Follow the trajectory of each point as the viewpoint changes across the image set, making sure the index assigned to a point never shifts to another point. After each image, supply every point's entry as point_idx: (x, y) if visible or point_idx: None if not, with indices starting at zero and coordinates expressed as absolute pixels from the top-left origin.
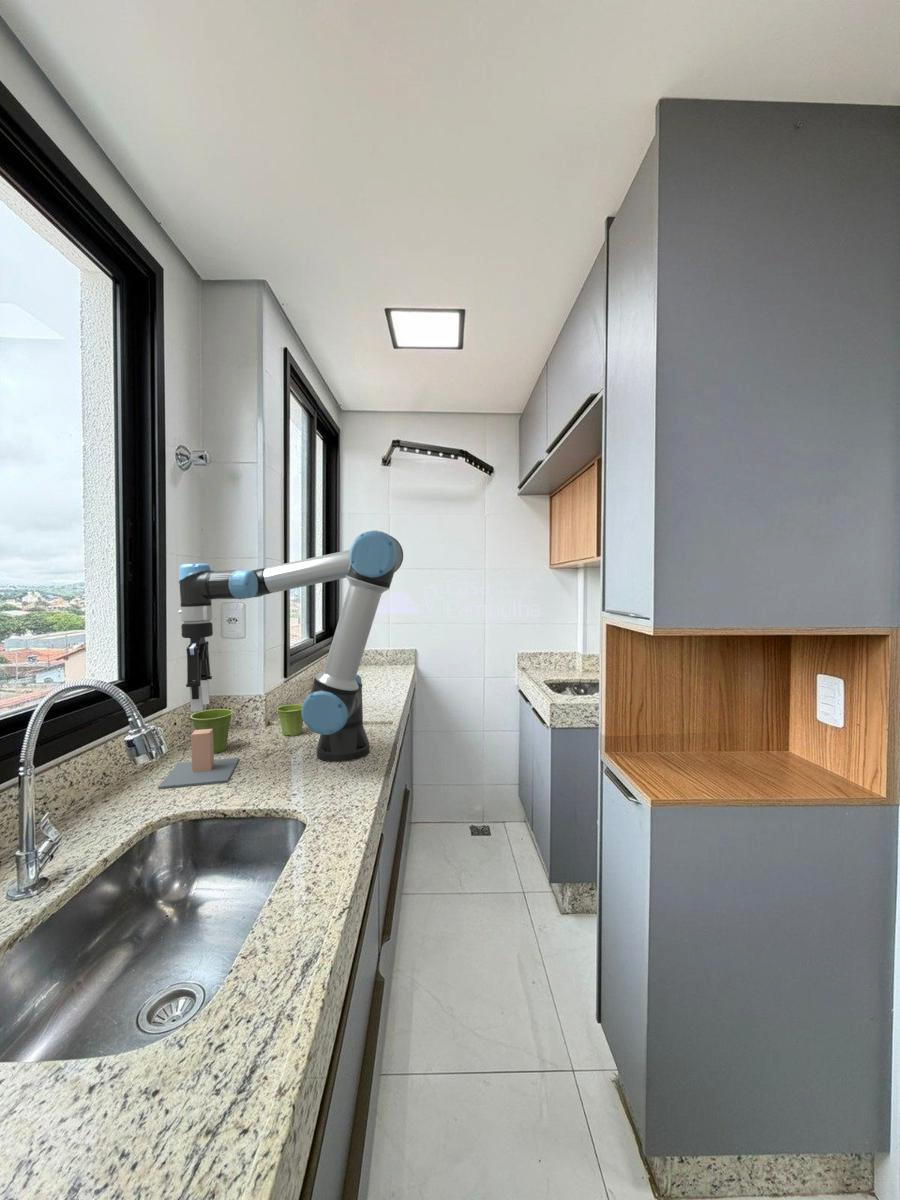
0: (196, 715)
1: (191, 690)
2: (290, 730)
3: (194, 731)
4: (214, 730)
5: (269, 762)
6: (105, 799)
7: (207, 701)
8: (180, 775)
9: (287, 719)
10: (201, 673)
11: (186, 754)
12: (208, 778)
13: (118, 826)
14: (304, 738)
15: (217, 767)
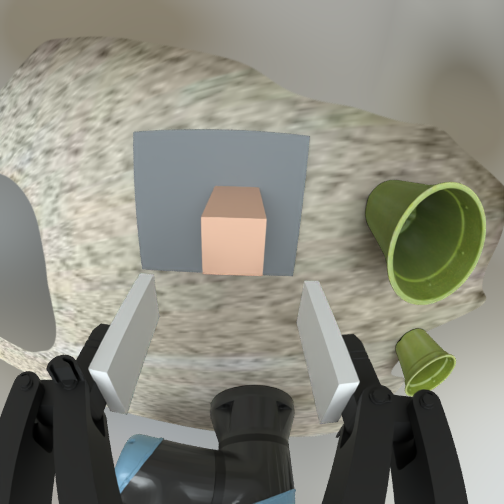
0: (468, 197)
1: (99, 356)
2: (400, 350)
3: (244, 221)
4: (382, 242)
5: (247, 327)
6: (113, 46)
7: (299, 325)
8: (198, 161)
9: (410, 362)
10: (347, 448)
11: (389, 147)
12: (159, 231)
13: (10, 138)
14: None
15: None
